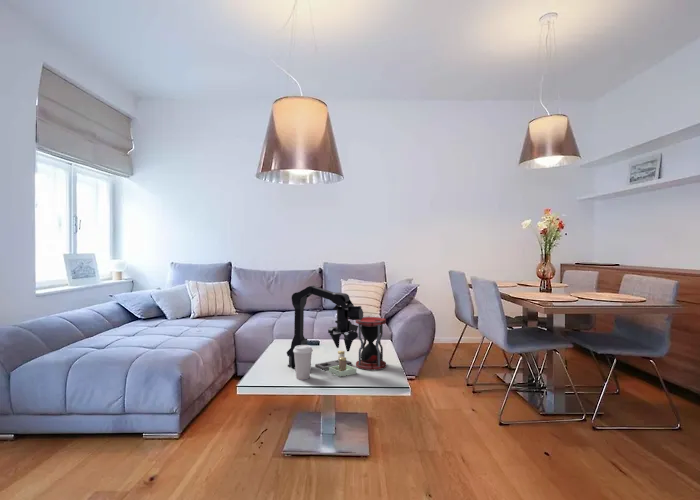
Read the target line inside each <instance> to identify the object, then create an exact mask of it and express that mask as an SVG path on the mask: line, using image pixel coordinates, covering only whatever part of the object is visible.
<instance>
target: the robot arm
mask: <svg viewBox="0 0 700 500" xmlns="http://www.w3.org/2000/svg"><path fill="white" fill-rule="evenodd" d="M312 295H314V296H316V297H320V298H322V299H326V300H329V301H331V303H333V304H334V305H335V306H334V307H333V308H332V310H334V311H335V310H336V320H335V323H336V326H331V327H329V328H328V330H327V331H328V332H327V334H329V336H330V337H331V339H332V341H333V343H334V345H335V347H336V348H337V349H339V348H340V339H341V338H340V337H341V336H342V335H343V342H344V345H345V349H346V352H350V350H351V347H352V344H353V342H354V340H356V339H357V338H358V339H359V332H358V330H359V325H356V324H353V322H351V320H355V321H356V320H362V318H363V317H364V310H363V308H362V306H361V305H354V303H353V301H351V299H350V296H349V294H348V293H345V292H336V291H335V292H333V291H331V290H327V289H324V288H322V287H317V286H315V285H313V284H312V285H308V286H307V287H306V288H304V289H302V290H299V291H297V292H293V294H292V295H291V303H292V306H293V308H294V322H293V323H294V325H293V326H294V327H293V328H294V330H293V331H294V332H293V333H294V335H293V338H292V341H291V344H290V348H289V349H288V350H287V351H286V355H287V357H288V364H287V367H289V368H291V369H295V358H294V352H293V350H294V348H295V346H298V345H308V338H305V336H304V323H305V321H304V319H305V315H304V314H305V311H304V310H305V307H306V305H307V300H308V298H309V297H312Z"/></svg>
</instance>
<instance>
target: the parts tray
mask: <svg viewBox="0 0 700 500" xmlns="http://www.w3.org/2000/svg"><path fill="white" fill-rule="evenodd" d="M328 373H330V374H333V375H334V374H335V376H337V377H339V378H341V376H343V377H346V375H347V376H352V375H356V374H357V367H353V366H352V365H347V364H346V370H345V371H339V365H337V366H332V367H329V369H328Z"/></svg>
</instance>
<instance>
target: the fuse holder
mask: <svg viewBox="0 0 700 500" xmlns="http://www.w3.org/2000/svg"><path fill="white" fill-rule="evenodd" d="M346 364H347V365H349V366H352V365H353V364H352V361H350V360H347V359H346ZM337 365H339V363H338V359H337V360H331V361H325V362H320V363H316V364H314V367H315V368H317V369H319V370H321V371H329V367H332V366H337Z"/></svg>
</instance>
